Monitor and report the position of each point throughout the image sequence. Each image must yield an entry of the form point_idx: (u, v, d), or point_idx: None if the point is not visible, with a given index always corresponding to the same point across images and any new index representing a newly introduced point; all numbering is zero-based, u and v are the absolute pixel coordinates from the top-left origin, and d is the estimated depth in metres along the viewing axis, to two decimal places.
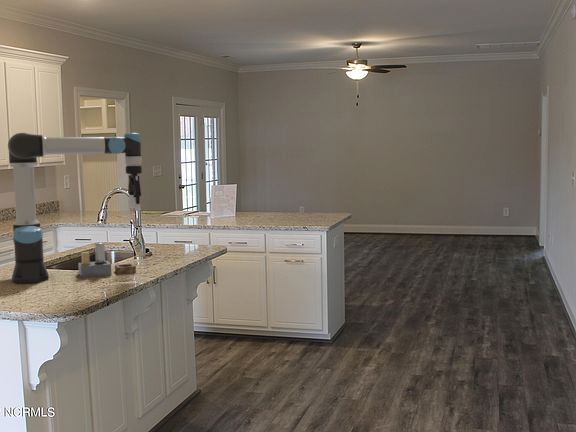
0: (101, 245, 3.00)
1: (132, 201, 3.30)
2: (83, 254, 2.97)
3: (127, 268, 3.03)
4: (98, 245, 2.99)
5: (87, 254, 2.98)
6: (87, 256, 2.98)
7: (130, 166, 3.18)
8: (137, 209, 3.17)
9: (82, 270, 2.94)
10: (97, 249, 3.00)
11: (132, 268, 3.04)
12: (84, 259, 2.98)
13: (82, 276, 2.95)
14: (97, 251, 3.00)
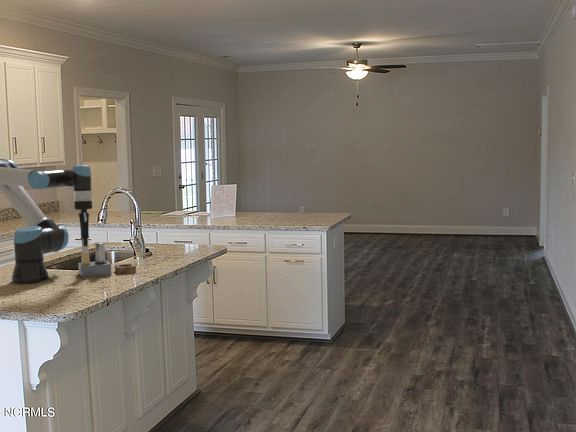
0: (101, 245, 3.00)
1: None
2: (83, 255, 2.97)
3: (127, 268, 3.03)
4: (98, 245, 2.99)
5: (87, 255, 2.98)
6: (87, 257, 2.98)
7: (79, 201, 2.93)
8: (85, 251, 2.98)
9: (82, 270, 2.94)
10: (97, 249, 3.00)
11: (132, 268, 3.04)
12: (84, 260, 2.98)
13: (82, 276, 2.95)
14: (97, 251, 3.00)
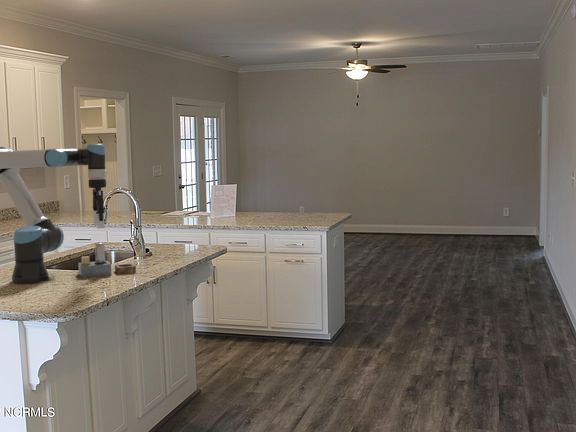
0: (101, 245, 3.00)
1: (97, 217, 3.06)
2: (83, 258, 2.98)
3: (127, 268, 3.03)
4: (98, 245, 2.99)
5: (87, 258, 2.98)
6: (87, 260, 2.98)
7: (93, 180, 2.95)
8: (101, 226, 2.94)
9: (82, 270, 2.94)
10: (97, 249, 3.00)
11: (132, 268, 3.04)
12: (84, 263, 2.98)
13: (82, 276, 2.95)
14: (97, 251, 3.00)
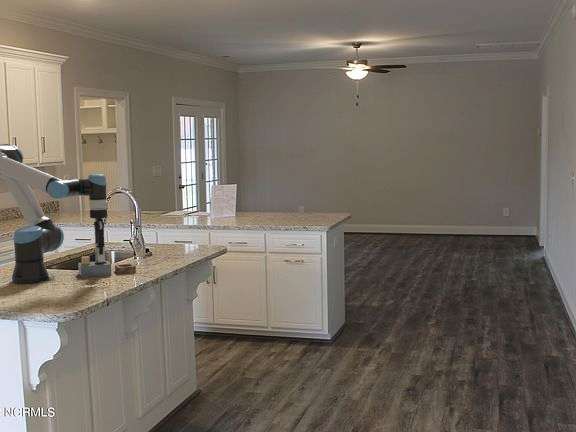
0: None
1: None
2: (83, 258, 2.98)
3: (127, 268, 3.03)
4: None
5: (87, 258, 2.98)
6: (87, 260, 2.98)
7: (94, 210, 2.96)
8: (101, 260, 2.99)
9: (82, 270, 2.94)
10: None
11: (132, 268, 3.04)
12: (84, 263, 2.98)
13: (82, 276, 2.95)
14: (97, 251, 3.00)
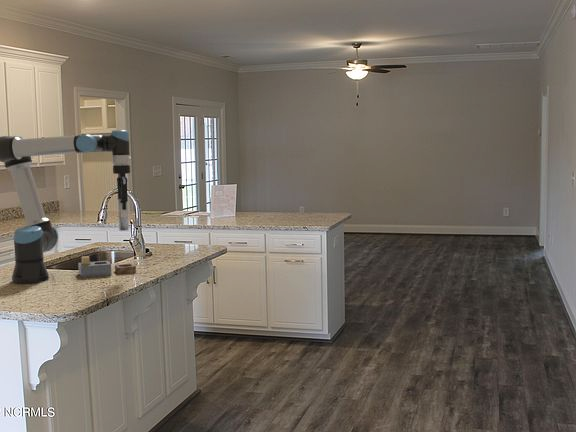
0: None
1: None
2: (83, 258, 2.98)
3: (127, 268, 3.03)
4: None
5: (87, 258, 2.98)
6: (87, 260, 2.98)
7: (117, 165, 2.98)
8: (124, 215, 3.02)
9: (82, 270, 2.94)
10: (120, 205, 3.02)
11: (132, 268, 3.04)
12: (84, 263, 2.98)
13: (82, 276, 2.95)
14: (120, 207, 3.02)
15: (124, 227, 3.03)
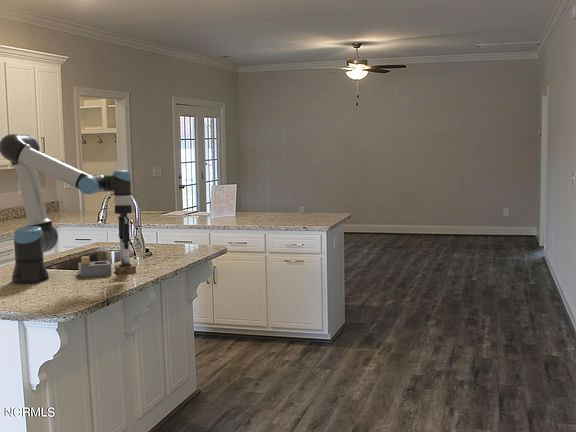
0: None
1: None
2: (83, 258, 2.98)
3: (127, 268, 3.03)
4: None
5: (87, 258, 2.98)
6: (87, 260, 2.98)
7: (119, 206, 3.00)
8: (126, 254, 3.02)
9: (82, 270, 2.94)
10: (122, 247, 3.04)
11: (132, 268, 3.04)
12: (84, 263, 2.98)
13: (82, 276, 2.95)
14: (122, 249, 3.04)
15: None
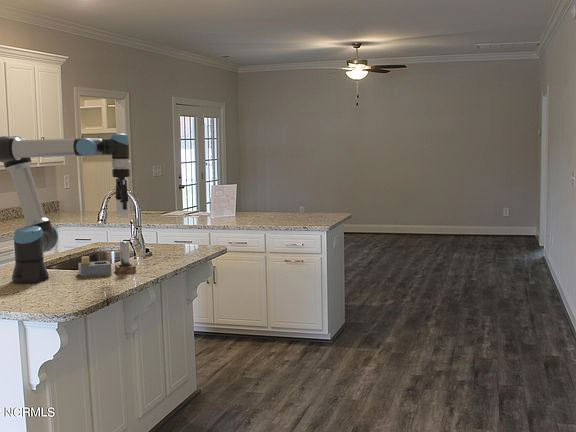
0: (125, 244, 3.04)
1: (119, 206, 3.10)
2: (83, 258, 2.98)
3: (127, 268, 3.03)
4: (123, 243, 3.04)
5: (87, 258, 2.98)
6: (87, 260, 2.98)
7: (117, 169, 2.99)
8: (125, 215, 2.98)
9: (82, 270, 2.94)
10: (122, 247, 3.04)
11: (132, 268, 3.04)
12: (84, 263, 2.98)
13: (82, 276, 2.95)
14: (122, 249, 3.04)
15: None
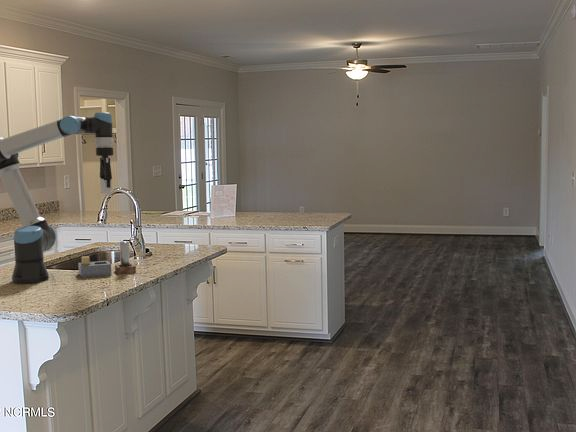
0: (126, 244, 3.04)
1: (104, 185, 3.11)
2: (83, 258, 2.98)
3: (127, 268, 3.03)
4: (123, 243, 3.04)
5: (87, 258, 2.98)
6: (87, 260, 2.98)
7: (100, 147, 2.99)
8: (108, 193, 2.98)
9: (82, 270, 2.94)
10: (122, 247, 3.04)
11: (132, 268, 3.04)
12: (84, 263, 2.98)
13: (82, 276, 2.95)
14: (122, 249, 3.04)
15: None
